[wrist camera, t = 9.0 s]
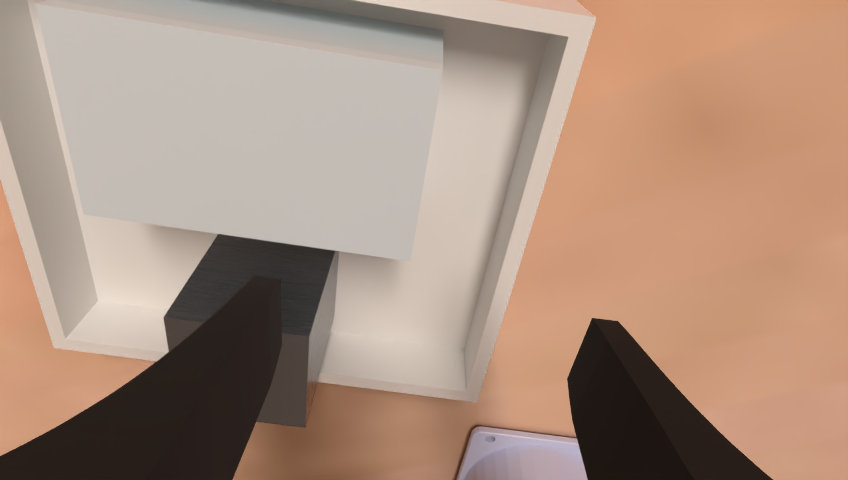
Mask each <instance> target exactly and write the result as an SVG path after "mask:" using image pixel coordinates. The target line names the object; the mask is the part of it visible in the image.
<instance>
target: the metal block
mask: <svg viewBox="0 0 848 480" xmlns="http://www.w3.org/2000/svg"><path fill="white" fill-rule="evenodd" d="M338 260H339V251H334V250H327V249H320V248H313V247H307V246H300V245H293V244H286V243H279V242H272V241H265V240H258V239H251V238H244V237H237V236H230V235H223V234H218V235H217V237H216V238H215V240H214V241H213V243H212V244H211V246H210V247H209V249H208V250H207V252H206V253H205V255H204V256H203V258H202V259H201V261H200V262H199V264H198V265H197V267H196V269H195V270H194V272H193V273H192V275H191V276H190V278H189V279H188V281H187V282H186V284H185V285H184V287H183V288H182V290H181V291H180V293H179V294H178V296H177V297H176V299H175V300H174V302H173V304H172V305H171V307H170V308H169V310H168V311H167V313H166V314H165V316H164V317H163V318H164V324H165V331H166V337H167V343H168V350H169V351H170V350H172V349H173V348H174V347H175V346H177V345H178V344H179V343H180V342H182V341H183V340H184V339H185V338H186V337H188V336H189V335H190V334H191V333H192V332H193V331H194V330H196V329H197V328H198V327H199V326H200V325H201V324H202V323H203V322H205V321H206V320H207V319H208V318H209V317H210V316H211V315H212V314H214V313H215V312H216V311H217V310H218V309H219V308H220V307H221V306H222V305H223V304H224V303H225V302H226V301H227V300H228V299H229V298H230V297H231V296H233V295H234V294H235V293H236V292H237V291H238V290H239V289H240V288H241V287H242V286H243V285H244V284H245V283H246V282H247V281H248V280H249V279H250V278H251V277H253V276H261V277H269V278H277V279H281V306H282V347H281V351H280V354H279V358H278V362H277V365H276V369H275V373H274V376H273V380H272V383H271V386H270V389H269V391H268V394H267V396H266V399H265V401H264V403H263V406H262V408H261V411H260V413H259V416H258V418H257V421H256V422H264V423H272V424H280V425H288V426H296V427H304V428H305V427H306V423H307V420H308V416H309V412H310V408H311V404H312V400H313V396H314V393H315V389H316V385H317V381H318V377H319V373H320V369H321V366H322V362H323V358H324V354H325V350H326V346H327V342H328V339H329V335H330V331H331V327H332V323H333V319H334V313H335V300H336V287H337V273H338Z"/></svg>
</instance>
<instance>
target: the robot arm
mask: <svg viewBox="0 0 848 480" xmlns="http://www.w3.org/2000/svg"><path fill="white" fill-rule="evenodd" d="M281 347H282V306H281V279H277V278H269V277H261V276H253V277H251V278H250V279H249V280H248V281H247V282H246V283H245V284H244V285H243V286H242V287H241V288H240V289H239V290H238V291H237V292H236V293H235V294H234V295H233V296H231V297H230V298H229V299H228V300H227V301H226V302H225V303H224V304H223V305H222V306H221V307H220V308H219V309H218V310H217V311H216V312H215V313H214V314H212V315H211V316H210V317H209V318H208V319H207V320H206V321H205V322H203V323H202V324H201V325H200V326H199V327H198V328H197V329H196V330H194V331H193V332H192V333H191V334H190V335H189V336H188V337H186V338H185V339H184V340H183V341H182V342H180V343H179V344H178V345H177V346H175V347H174V348H173V349H172V350H170V351H169V352H168V353H167V354H165V355H164V356H163V357H162V358H160V359H159V360H158V361H157V362H155V363H154V364H153V365H151V366H150V367H149V368H147V369H146V370H145V371H143V372H142V373H141V374H139V375H138V376H136V377H135V378H134V379H132V380H131V381H129V382H128V383H126V384H125V385H123V386H122V387H121V388H119V389H118V390H116V391H115V392H113V393H112V394H110V395H109V396H107V397H105V398H104V399H102V400H101V401H99V402H97V403H96V404H94V405H93V406H91V407H89V408H88V409H86V410H84V411H83V412H81V413H79V414H78V415H76V416H74V417H73V418H71V419H69V420H68V421H66V422H64V423H63V424H61V425H59V426H57V427H56V428H54V429H52V430H50V431H48V432H46V433H44V434H43V435H41V436H39V437H37V438H35V439H33V440H31V441H29V442H28V443H26V444H24V445H22V446H20V447H18V448H16V449H14V450H12V451H10V452H8V453H6V454H4V455H2V456H0V480H232V479H233V477H234V474H235V472H236V469H237V467H238V464H239V462H240V459H241V457H242V455H243V452H244V450H245V447H246V445H247V442H248V440H249V438H250V435H251V433H252V430H253V428H254V425H255V423H256V421H257V418H258V416H259V413H260V411H261V408H262V406H263V403H264V401H265V399H266V396H267V394H268V391H269V389H270V386H271V383H272V380H273V376H274V373H275V369H276V365H277V362H278V358H279V354H280V351H281ZM567 380H568V389H569V398H570V406H571V414H572V420H573V424H574V429H575V433H576V436H577V438H569V437H561V436H553V435H545V434H538V433H530V432H522V431H514V430H506V429H498V428H490V427H476V428H474V429H473V430H472V432H471V435H470V438H469V441H468V445H467V448H466V451H465V454H464V457H463V460H462V463H461V467H460V470H459V473H458V476H457V479H456V480H773V479H771V478H770V477H769V476H768V475H767V474H765V473H764V472H763V471H762V470H761V469H760V468H758V467H757V466H756V465H755V464H754V463H753V462H752V461H751V460H749V459H748V458H747V457H746V456H745V455H744V454H743V453H742V452H740V451H739V450H738V449H737V448H736V447H735V446H734V445H733V444H732V443H731V442H729V441H728V440H727V439H726V438H725V437H724V436H723V435H722V434H721V433H720V432H719V431H718V430H717V429H716V428H715V427H714V426H713V425H712V424H711V423H710V422H709V421H708V420H707V419H706V418H705V417H704V416H703V415H702V414H701V413H700V412H699V411H698V410H697V409H696V408H695V407H694V406H693V405H692V404H691V403H690V402H689V401H688V399H687V398H686V397H685V396H684V395H683V394H682V393H681V392H680V391H679V390H678V389H677V388H676V387H675V385H674V384H673V383H672V382H671V381H670V380H669V379H668V378H667V377H666V375H665V374H664V373H663V372H662V371H661V370H660V369H659V367H658V366H657V365H656V364H655V363H654V362H653V361H652V359H651V358H650V357H649V356H648V355H647V354H646V352H645V351H644V350H643V349H642V348H641V347H640V346H639V344H638V343H637V342H636V341H635V340H634V339H633V337H632V336H631V335H630V334H629V333H628V332H627V331H626V329H625V328H624V327H623V326H622V325H621V324H620V323H619V322H618V321H612V320H604V319H596V318H592V320H591V322H590V325H589V327H588V330H587V332H586V335H585V337H584V339H583V342H582V344H581V347H580V349H579V352H578V354H577V356H576V359H575V361H574V364H573V366H572V369H571V371H570V373H569V376H568V378H567Z"/></svg>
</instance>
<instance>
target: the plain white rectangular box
mask: <svg viewBox="0 0 848 480" xmlns="http://www.w3.org/2000/svg"><path fill="white" fill-rule="evenodd" d="M35 5H36V9H37V14H38V18H39V23H40V27H41V31H42V36H43V40H44V44H45V49H46V53H47V57H48V62H49V66H50V70H51V75H52V79H53V83H54V88H55V92H56V96H57V101H58V105H59V109H60V114H61V118H62V123H63V127H64V131H65V136H66V140H67V144H68V149H69V153H70V157H71V162H72V166H73V170H74V175H75V179H76V183H77V188H78V192H79V196H80V201H81V205H82V209H83V214H84V215H90V216H97V217H104V218H111V219H118V220H125V221H132V222H139V223H146V224H153V225H160V226H167V227H174V228H181V229H188V230H195V231H202V232H209V233H216V234H223V235H230V236H237V237H244V238H251V239H258V240H265V241H272V242H279V243H286V244H293V245H300V246H307V247H313V248H320V249H327V250H334V251H341V252H348V253H355V254H362V255H369V256H376V257H383V258H390V259H397V260H404V261H410V260H411V254H412V249H413V243H414V237H415V231H416V225H417V219H418V213H419V208H420V202H421V196H422V190H423V184H424V178H425V172H426V167H427V161H428V155H429V149H430V143H431V137H432V131H433V126H434V120H435V114H436V108H437V102H438V96H439V90H440V85H441V79H442V73H443V30H439V29H433V28H427V27H421V26H415V25H409V24H403V23H397V22H391V21H385V20H379V19H374V18H368V17H362V16H356V15H350V14H344V13H338V12H332V11H326V10H320V9H314V8H308V7H302V6H296V5H290V4H284V3H278V2H272V1H267V0H46V1H43V2H39V3H36V4H35Z"/></svg>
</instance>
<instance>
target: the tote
mask: <svg viewBox="0 0 848 480" xmlns="http://www.w3.org/2000/svg"><path fill="white" fill-rule="evenodd" d="M43 1H46V0H0V179H1V182H2V186H3V189H4V192H5V195H6V198H7V201H8V205H9V208H10V211H11V214H12V217H13V220H14V224H15V227H16V230H17V233H18V236H19V239H20V242H21V246H22V249H23V252H24V255H25V258H26V261H27V265H28V268H29V271H30V274H31V277H32V280H33V284H34V287H35V290H36V293H37V296H38V299H39V303H40V306H41V309H42V312H43V315H44V318H45V322H46V325H47V328H48V331H49V334H50V337H51V341H52V344H53V347H54V348H59V349H67V350H74V351H82V352H90V353H97V354H105V355H113V356H121V357H128V358H136V359H144V360H152V361H158V360H159V359H160V358H162V357H163V356H164V355H165V354H167V353H168V352H169V350H168V343H167V337H166V331H165V324H164V318H163V317H164V316H165V314H166V313H167V311H168V310H169V308H170V307H171V305H172V304H173V302H174V300H175V299H176V297H177V296H178V294H179V293H180V291H181V290H182V288H183V287H184V285H185V284H186V282H187V281H188V279H189V278H190V276H191V275H192V273H193V272H194V270H195V269H196V267H197V265H198V264H199V262H200V261H201V259H202V258H203V256H204V255H205V253H206V252H207V250H208V249H209V247H210V246H211V244H212V243H213V241H214V240H215V238H216V237H217V235H218V234H216V233H209V232H202V231H195V230H188V229H181V228H174V227H167V226H160V225H153V224H146V223H139V222H132V221H125V220H118V219H111V218H104V217H97V216H90V215H84V214H83V209H82V205H81V201H80V196H79V192H78V188H77V183H76V179H75V175H74V170H73V166H72V162H71V157H70V153H69V149H68V144H67V140H66V136H65V131H64V127H63V123H62V118H61V114H60V109H59V105H58V101H57V96H56V92H55V88H54V83H53V79H52V75H51V70H50V66H49V62H48V57H47V53H46V49H45V44H44V40H43V36H42V31H41V27H40V23H39V18H38V14H37V9H36V5H35V4H36V3H39V2H43ZM267 1H272V2H278V3H284V4H290V5H296V6H302V7H308V8H314V9H320V10H326V11H332V12H338V13H344V14H350V15H356V16H362V17H368V18H374V19H379V20H385V21H391V22H397V23H403V24H409V25H415V26H421V27H427V28H433V29H439V30H443V73H442V79H441V85H440V90H439V96H438V102H437V108H436V114H435V120H434V126H433V131H432V137H431V143H430V149H429V155H428V161H427V167H426V172H425V178H424V184H423V190H422V196H421V202H420V208H419V213H418V219H417V225H416V231H415V237H414V243H413V249H412V254H411V260H410V261H404V260H397V259H390V258H383V257H376V256H369V255H362V254H355V253H348V252H341V251H339V260H338V273H337V287H336V300H335V313H334V319H333V323H332V327H331V331H330V335H329V339H328V342H327V346H326V350H325V354H324V358H323V362H322V366H321V369H320V373H319V377H318V381H317V382H321V383H329V384H337V385H345V386H352V387H360V388H368V389H375V390H383V391H391V392H399V393H406V394H414V395H422V396H430V397H437V398H445V399H453V400H460V401H468V402H476V403H477V401H478V397H479V394H480V391H481V388H482V385H483V381H484V378H485V375H486V372H487V368H488V365H489V362H490V359H491V356H492V352H493V349H494V346H495V343H496V340H497V336H498V333H499V330H500V327H501V323H502V320H503V317H504V314H505V311H506V307H507V304H508V301H509V298H510V294H511V291H512V288H513V285H514V282H515V278H516V275H517V272H518V269H519V266H520V262H521V259H522V256H523V253H524V249H525V246H526V243H527V240H528V237H529V233H530V230H531V227H532V224H533V220H534V217H535V214H536V211H537V208H538V204H539V201H540V198H541V195H542V192H543V188H544V185H545V182H546V179H547V175H548V172H549V169H550V166H551V163H552V159H553V156H554V153H555V150H556V147H557V143H558V140H559V137H560V134H561V130H562V127H563V124H564V121H565V118H566V114H567V111H568V108H569V105H570V101H571V98H572V95H573V92H574V89H575V85H576V82H577V79H578V76H579V73H580V69H581V66H582V63H583V60H584V56H585V53H586V50H587V47H588V44H589V40H590V37H591V34H592V31H593V28H594V24H595V21H596V17H595V16H594V15H593V14H592V13H590V12H589V11H588V10H587V9H586V8H584V7H583V6H582V5H581V4H580V3H579V2H577V1H576V0H267Z"/></svg>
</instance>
